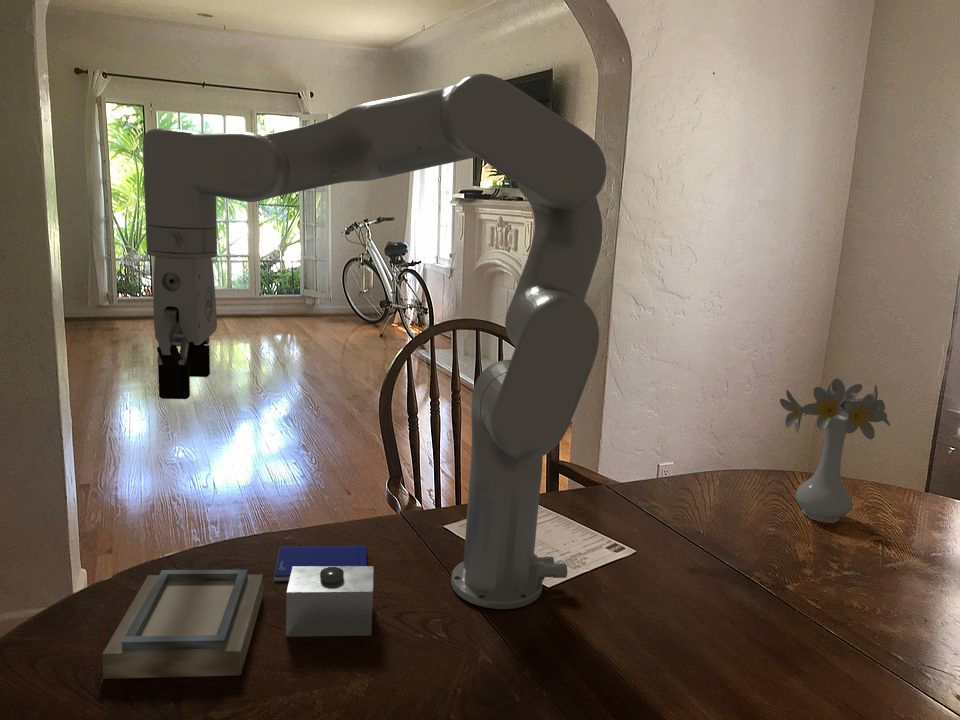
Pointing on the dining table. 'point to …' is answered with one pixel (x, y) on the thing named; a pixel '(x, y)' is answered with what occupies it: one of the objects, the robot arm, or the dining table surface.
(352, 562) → the hard drive
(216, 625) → the stand
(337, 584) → the block
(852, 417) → the flower vase
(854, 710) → the dining table surface
